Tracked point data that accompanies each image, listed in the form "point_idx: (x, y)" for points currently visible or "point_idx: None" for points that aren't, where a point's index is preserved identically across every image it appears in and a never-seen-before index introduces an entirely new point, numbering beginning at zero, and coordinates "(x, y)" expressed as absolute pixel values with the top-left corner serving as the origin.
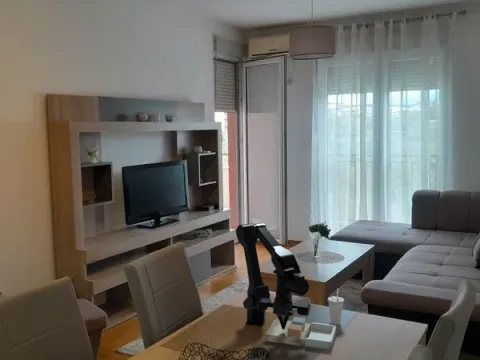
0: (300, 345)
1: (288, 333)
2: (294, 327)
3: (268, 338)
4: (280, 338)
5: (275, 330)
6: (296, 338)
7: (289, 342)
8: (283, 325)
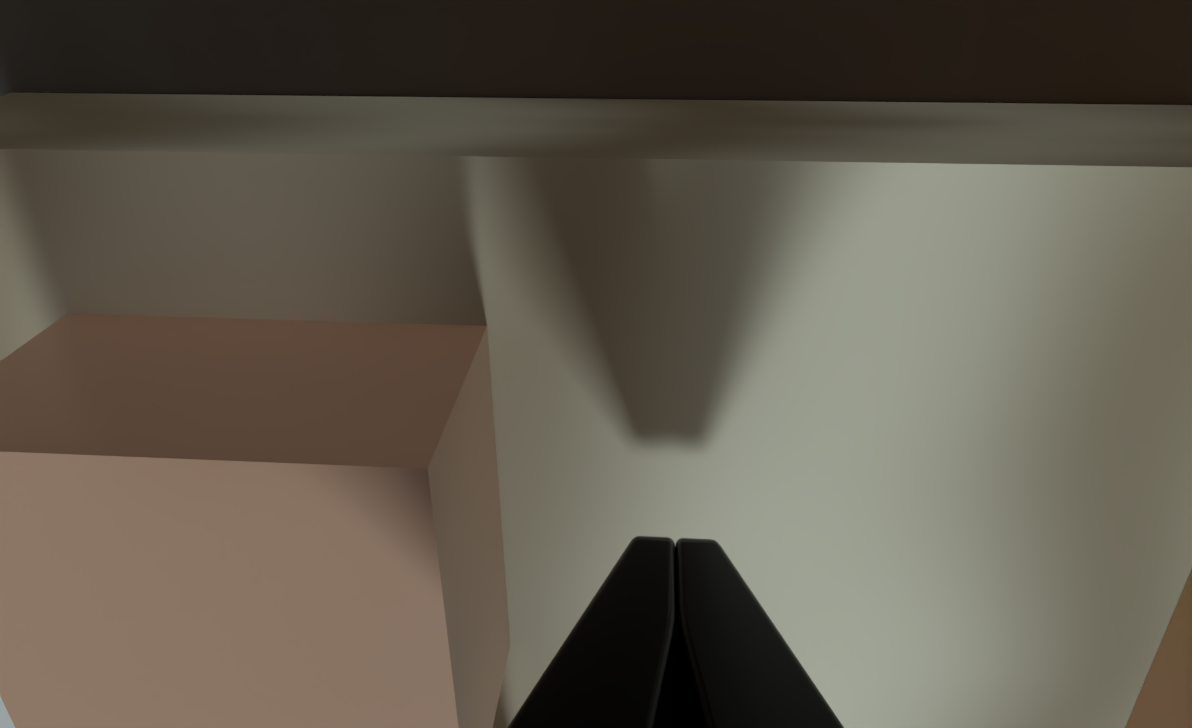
0: (99, 99)
1: (442, 356)
2: (207, 613)
3: (1143, 130)
4: (711, 140)
5: (950, 542)
6: (108, 157)
7: (410, 111)
8: (664, 641)
